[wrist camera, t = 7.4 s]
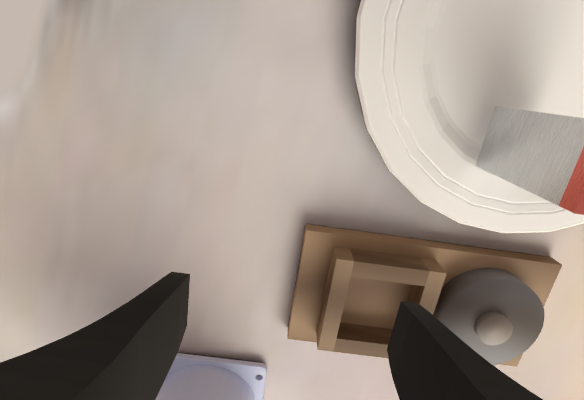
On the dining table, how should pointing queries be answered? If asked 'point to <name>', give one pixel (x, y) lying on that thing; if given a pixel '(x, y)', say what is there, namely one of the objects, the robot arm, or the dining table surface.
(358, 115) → the dining table surface
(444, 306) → the board
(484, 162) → the pin
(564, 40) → the plate
